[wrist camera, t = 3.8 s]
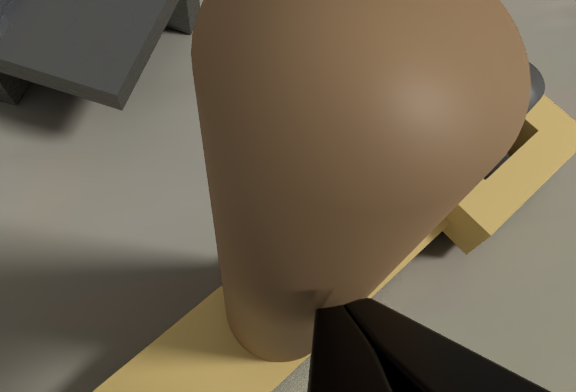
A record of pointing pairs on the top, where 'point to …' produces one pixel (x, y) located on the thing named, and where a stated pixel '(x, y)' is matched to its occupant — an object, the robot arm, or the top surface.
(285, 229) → the link
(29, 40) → the keeper
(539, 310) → the top surface
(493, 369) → the robot arm
